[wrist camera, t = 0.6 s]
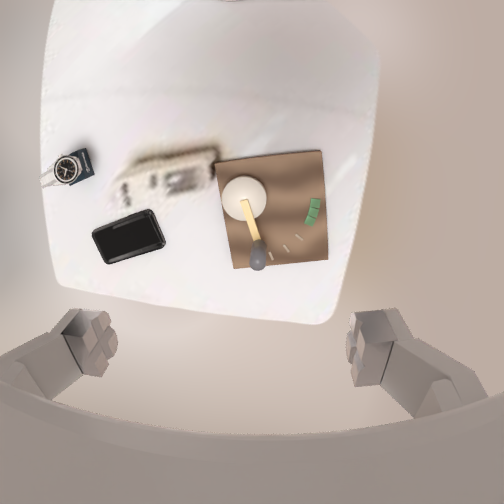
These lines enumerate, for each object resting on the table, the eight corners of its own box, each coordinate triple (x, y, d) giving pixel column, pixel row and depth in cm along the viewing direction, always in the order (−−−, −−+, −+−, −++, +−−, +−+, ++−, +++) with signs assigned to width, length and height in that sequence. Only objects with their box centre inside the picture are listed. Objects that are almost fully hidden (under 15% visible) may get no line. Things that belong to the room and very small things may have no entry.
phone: (166, 247, 54) (106, 265, 57) (168, 244, 55) (108, 263, 58) (149, 208, 51) (89, 231, 54) (152, 206, 52) (92, 229, 55)
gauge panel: (216, 162, 48) (214, 164, 46) (320, 150, 46) (321, 151, 44) (234, 264, 56) (233, 269, 54) (326, 255, 54) (328, 260, 52)
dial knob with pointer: (217, 183, 48) (206, 196, 40) (258, 170, 46) (256, 181, 39) (244, 255, 53) (239, 280, 45) (282, 245, 52) (284, 269, 44)
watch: (102, 171, 49) (68, 186, 39) (72, 184, 50) (38, 201, 41) (93, 143, 47) (58, 153, 37) (64, 159, 48) (28, 171, 38)
